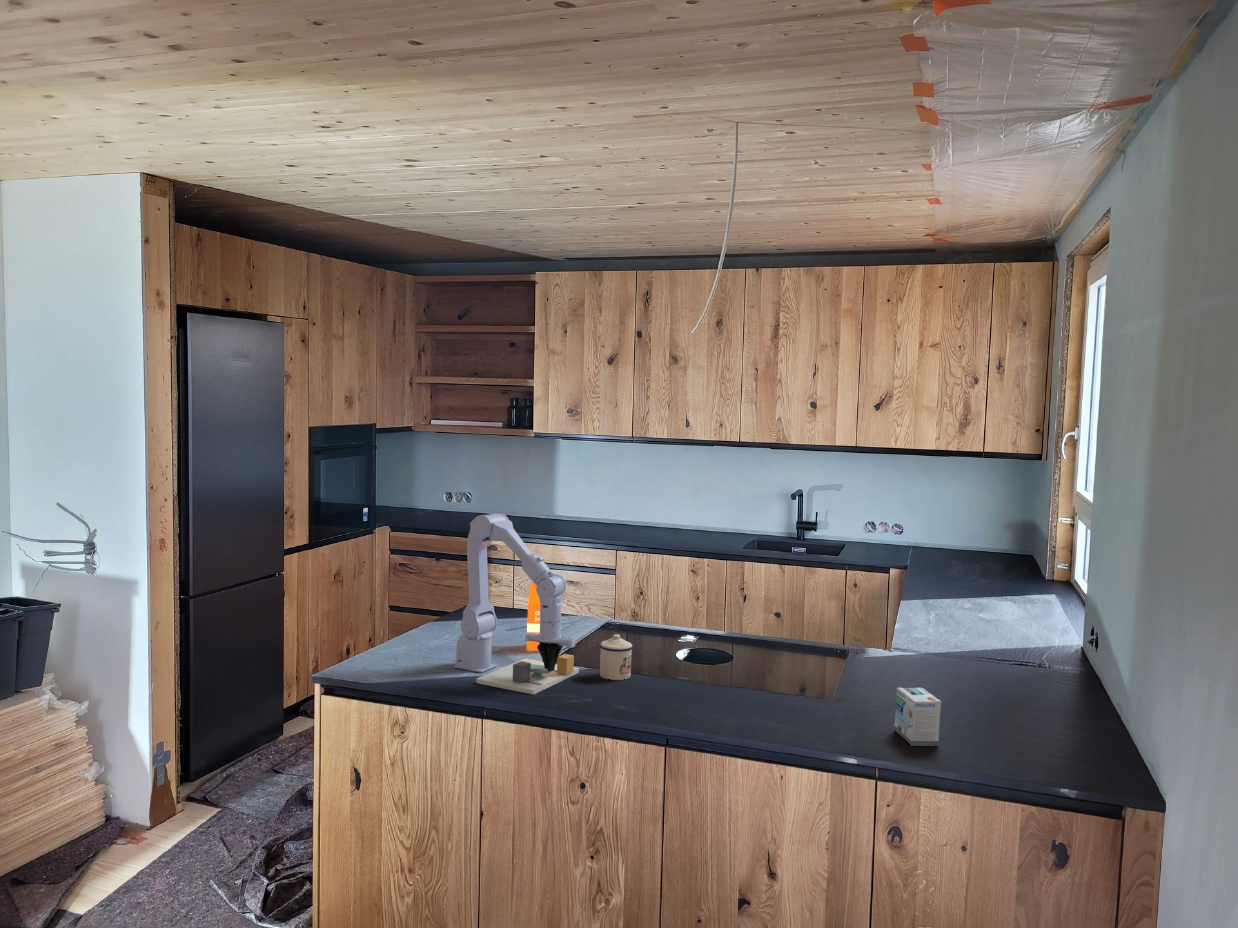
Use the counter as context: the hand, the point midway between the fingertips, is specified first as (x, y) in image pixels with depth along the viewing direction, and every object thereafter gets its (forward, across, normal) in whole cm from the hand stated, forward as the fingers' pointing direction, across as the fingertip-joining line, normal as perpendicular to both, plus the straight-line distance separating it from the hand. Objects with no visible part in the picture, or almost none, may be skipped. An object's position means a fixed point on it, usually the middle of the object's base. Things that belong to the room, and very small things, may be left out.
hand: (549, 670), depth 248 cm
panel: (+3, -7, 0) cm, 8 cm away
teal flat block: (0, -4, 0) cm, 4 cm away
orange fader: (+2, +1, +6) cm, 7 cm away
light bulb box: (+6, +94, +10) cm, 95 cm away
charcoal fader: (+2, -5, -6) cm, 8 cm away
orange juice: (+3, -20, +28) cm, 35 cm away
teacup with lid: (+4, +12, +16) cm, 21 cm away
